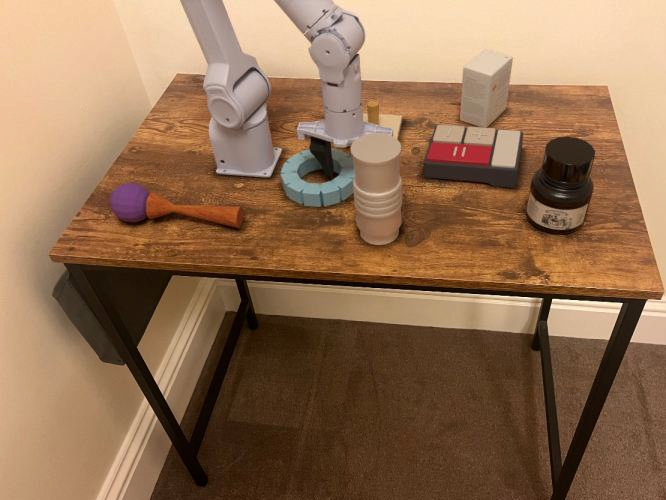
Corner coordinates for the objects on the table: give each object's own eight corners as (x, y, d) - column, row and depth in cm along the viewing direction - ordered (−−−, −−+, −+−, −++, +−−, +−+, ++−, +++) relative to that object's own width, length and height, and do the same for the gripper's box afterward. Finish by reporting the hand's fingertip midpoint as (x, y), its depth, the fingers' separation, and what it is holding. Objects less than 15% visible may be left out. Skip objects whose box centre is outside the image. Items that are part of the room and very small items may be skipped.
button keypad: (435, 121, 106) (524, 127, 103) (435, 142, 109) (521, 149, 106) (422, 159, 99) (518, 166, 96) (423, 180, 102) (515, 188, 99)
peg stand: (344, 146, 108) (342, 116, 104) (353, 118, 114) (351, 88, 110) (395, 149, 107) (395, 119, 103) (402, 121, 113) (402, 91, 109)
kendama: (231, 221, 90) (98, 202, 91) (238, 244, 95) (112, 227, 96) (242, 189, 93) (113, 172, 94) (248, 214, 98) (126, 197, 99)
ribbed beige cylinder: (406, 219, 95) (406, 135, 84) (396, 250, 90) (395, 165, 79) (363, 213, 96) (357, 130, 85) (351, 243, 92) (344, 159, 81)
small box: (480, 101, 117) (485, 47, 110) (506, 109, 115) (514, 55, 107) (458, 120, 113) (462, 66, 105) (485, 130, 111) (491, 75, 103)
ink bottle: (516, 227, 93) (528, 161, 84) (529, 192, 99) (541, 126, 90) (582, 242, 91) (601, 176, 82) (591, 205, 96) (610, 139, 87)
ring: (275, 203, 98) (272, 190, 96) (293, 158, 106) (291, 145, 104) (350, 209, 97) (349, 196, 95) (363, 162, 105) (362, 150, 103)
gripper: (287, 114, 88) (299, 189, 98) (388, 120, 86) (389, 196, 97) (299, 88, 93) (309, 163, 103) (394, 94, 91) (395, 169, 101)
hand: (348, 177), depth 100 cm, fingers open, 5 cm apart
